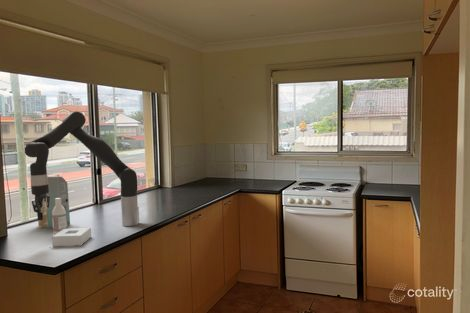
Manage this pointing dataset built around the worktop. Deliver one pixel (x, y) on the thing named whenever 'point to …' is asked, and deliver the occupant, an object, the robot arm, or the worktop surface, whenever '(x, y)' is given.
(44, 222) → the peg
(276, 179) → the worktop surface
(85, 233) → the socket block
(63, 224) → the bath foam
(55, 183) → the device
